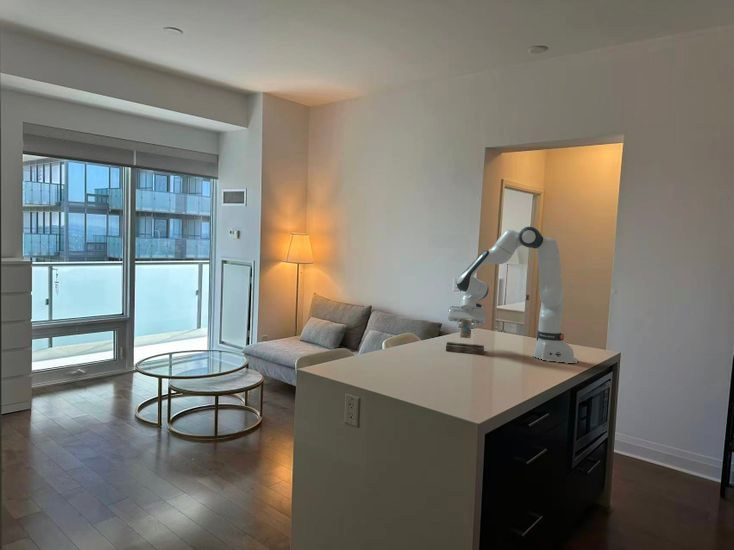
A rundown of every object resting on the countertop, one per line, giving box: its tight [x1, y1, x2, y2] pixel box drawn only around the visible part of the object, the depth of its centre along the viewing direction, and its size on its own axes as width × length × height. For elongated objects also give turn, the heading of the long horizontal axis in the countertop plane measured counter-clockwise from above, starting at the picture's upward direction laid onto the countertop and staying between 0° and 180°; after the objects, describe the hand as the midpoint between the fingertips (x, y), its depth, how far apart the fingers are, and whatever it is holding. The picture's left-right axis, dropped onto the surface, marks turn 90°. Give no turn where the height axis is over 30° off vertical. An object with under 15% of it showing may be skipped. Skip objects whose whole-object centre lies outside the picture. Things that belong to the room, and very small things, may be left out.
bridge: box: [445, 341, 485, 355], centre depth 290 cm, size 20×10×3 cm, turn 79°
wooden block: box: [459, 319, 473, 339], centre depth 290 cm, size 6×2×10 cm, turn 79°
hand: (466, 327), depth 289 cm, fingers closed on wooden block, 5 cm apart
